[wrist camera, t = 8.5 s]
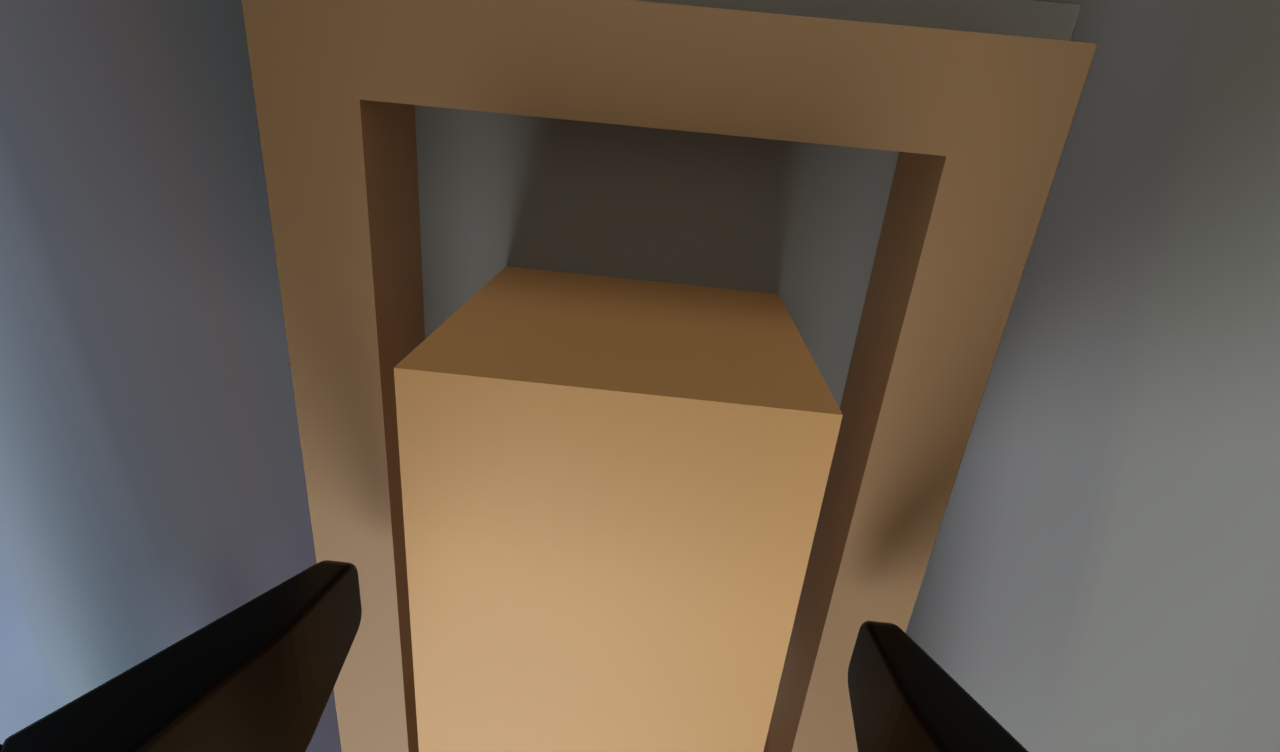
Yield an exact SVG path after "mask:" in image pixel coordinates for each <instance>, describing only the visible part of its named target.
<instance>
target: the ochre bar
mask: <svg viewBox="0 0 1280 752" xmlns="http://www.w3.org/2000/svg"><path fill="white" fill-rule="evenodd" d="M394 380H395V396H396V411H397V426H398V441H399V457H400V472H401V487H402V502H403V518H404V533H405V548H406V563H407V579H408V594H409V609H410V624H411V640H412V655H413V670H414V685H415V701H416V716H417V731H418V746H419V752H763V751H764V747H765V743H766V738H767V734H768V730H769V726H770V721H771V717H772V713H773V709H774V705H775V700H776V696H777V692H778V688H779V683H780V679H781V675H782V671H783V666H784V662H785V658H786V654H787V649H788V645H789V641H790V637H791V633H792V628H793V624H794V620H795V616H796V611H797V607H798V603H799V599H800V594H801V590H802V586H803V582H804V577H805V573H806V569H807V565H808V561H809V556H810V552H811V548H812V544H813V539H814V535H815V531H816V527H817V522H818V518H819V514H820V510H821V505H822V501H823V497H824V493H825V489H826V484H827V480H828V476H829V472H830V467H831V463H832V459H833V455H834V450H835V446H836V442H837V438H838V433H839V429H840V425H841V421H842V417H843V414H842V412H841V410H840V409H839V407H838V405H837V403H836V401H835V399H834V397H833V395H832V394H831V392H830V390H829V388H828V386H827V384H826V382H825V380H824V379H823V377H822V375H821V373H820V371H819V369H818V367H817V365H816V363H815V362H814V360H813V358H812V356H811V354H810V352H809V350H808V348H807V347H806V345H805V343H804V341H803V339H802V337H801V335H800V333H799V332H798V330H797V328H796V326H795V324H794V322H793V320H792V318H791V316H790V315H789V313H788V311H787V309H786V307H785V305H784V303H783V301H782V300H781V298H780V296H779V294H774V293H764V292H754V291H744V290H734V289H725V288H715V287H705V286H695V285H685V284H675V283H665V282H656V281H646V280H636V279H626V278H616V277H606V276H597V275H587V274H577V273H567V272H557V271H547V270H538V269H528V268H518V267H508V266H506V267H505V268H504V269H503V270H501V271H500V272H499V273H498V274H497V275H496V276H495V277H494V278H493V279H491V280H490V281H489V282H488V283H487V284H486V285H485V286H484V287H483V288H481V289H480V290H479V291H478V292H477V293H476V294H475V295H474V296H473V297H472V298H470V299H469V300H468V301H467V302H466V303H465V304H464V305H463V306H462V307H460V308H459V309H458V310H457V311H456V312H455V313H454V314H453V315H452V316H450V317H449V318H448V319H447V320H446V321H445V322H444V323H443V324H442V325H440V326H439V327H438V328H437V329H436V330H435V331H434V332H433V333H432V334H431V335H429V336H428V337H427V338H426V339H425V340H424V341H423V342H422V343H421V344H419V345H418V346H417V347H416V348H415V349H414V350H413V351H412V352H411V353H409V354H408V355H407V356H406V357H405V358H404V359H403V360H402V361H401V362H400V363H398V364H397V365H396V366H395V367H394Z"/></svg>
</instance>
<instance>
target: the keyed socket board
mask: <svg viewBox="0 0 1280 752" xmlns="http://www.w3.org/2000/svg"><path fill="white" fill-rule="evenodd" d="M1081 6H1082V5H1080V4H1069V3H1058V2H1047V1H1036V0H242V8H243V15H244V23H245V30H246V38H247V45H248V53H249V60H250V68H251V75H252V83H253V90H254V97H255V105H256V112H257V120H258V127H259V135H260V142H261V150H262V157H263V165H264V172H265V180H266V187H267V195H268V202H269V210H270V217H271V225H272V232H273V240H274V247H275V255H276V262H277V270H278V277H279V284H280V292H281V299H282V307H283V314H284V322H285V329H286V337H287V344H288V352H289V359H290V367H291V374H292V382H293V389H294V397H295V404H296V412H297V419H298V427H299V434H300V442H301V449H302V457H303V464H304V472H305V479H306V486H307V494H308V501H309V509H310V516H311V524H312V531H313V539H314V546H315V554H316V561H317V563H319V562H321V561H324V560H332V561H340V562H349V563H352V564H354V565H355V566H356V568H357V571H358V577H359V587H360V597H361V607H362V616H361V622H360V626H359V629H358V632H357V634H356V636H355V639H354V641H353V643H352V646H351V648H350V651H349V653H348V655H347V658H346V660H345V662H344V665H343V667H342V669H341V672H340V674H339V676H338V679H337V681H336V684H335V686H334V696H335V703H336V711H337V718H338V726H339V733H340V741H341V748H342V752H419V746H418V731H417V716H416V701H415V685H414V670H413V655H412V640H411V624H410V609H409V594H408V579H407V563H406V548H405V533H404V518H403V502H402V487H401V472H400V457H399V441H398V426H397V411H396V396H395V380H394V367H395V366H396V365H397V364H398V363H400V362H401V361H402V360H403V359H404V358H405V357H406V356H407V355H408V354H409V353H411V352H412V351H413V350H414V349H415V348H416V347H417V346H418V345H419V344H421V343H422V342H423V341H424V340H425V339H426V338H427V337H428V336H429V335H431V334H432V333H433V332H434V331H435V330H436V329H437V328H438V327H439V326H440V325H442V324H443V323H444V322H445V321H446V320H447V319H448V318H449V317H450V316H452V315H453V314H454V313H455V312H456V311H457V310H458V309H459V308H460V307H462V306H463V305H464V304H465V303H466V302H467V301H468V300H469V299H470V298H472V297H473V296H474V295H475V294H476V293H477V292H478V291H479V290H480V289H481V288H483V287H484V286H485V285H486V284H487V283H488V282H489V281H490V280H491V279H493V278H494V277H495V276H496V275H497V274H498V273H499V272H500V271H501V270H503V269H504V268H505V267H506V266H508V267H518V268H528V269H538V270H547V271H557V272H567V273H577V274H587V275H597V276H606V277H616V278H626V279H636V280H646V281H656V282H665V283H675V284H685V285H695V286H705V287H715V288H725V289H734V290H744V291H754V292H764V293H774V294H779V296H780V298H781V300H782V301H783V303H784V305H785V307H786V309H787V311H788V313H789V315H790V316H791V318H792V320H793V322H794V324H795V326H796V328H797V330H798V332H799V333H800V335H801V337H802V339H803V341H804V343H805V345H806V347H807V348H808V350H809V352H810V354H811V356H812V358H813V360H814V362H815V363H816V365H817V367H818V369H819V371H820V373H821V375H822V377H823V379H824V380H825V382H826V384H827V386H828V388H829V390H830V392H831V394H832V395H833V397H834V399H835V401H836V403H837V405H838V407H839V409H840V410H841V412H842V414H843V417H842V421H841V425H840V429H839V433H838V438H837V442H836V446H835V450H834V455H833V459H832V463H831V467H830V472H829V476H828V480H827V484H826V489H825V493H824V497H823V501H822V505H821V510H820V514H819V518H818V522H817V527H816V531H815V535H814V539H813V544H812V548H811V552H810V556H809V561H808V565H807V569H806V573H805V577H804V582H803V586H802V590H801V594H800V599H799V603H798V607H797V611H796V616H795V620H794V624H793V628H792V633H791V637H790V641H789V645H788V649H787V654H786V658H785V662H784V666H783V671H782V675H781V679H780V683H779V688H778V692H777V696H776V700H775V705H774V709H773V713H772V717H771V721H770V726H769V730H768V734H767V738H766V743H765V747H764V751H763V752H858V749H857V743H856V736H855V729H854V723H853V716H852V709H851V703H850V696H849V689H848V667H849V663H850V660H851V656H852V653H853V649H854V646H855V642H856V639H857V635H858V632H859V629H860V627H861V625H862V623H864V622H865V621H877V622H886V623H892V624H895V625H897V626H898V627H900V628H901V629H902V630H903V631H904V632H905V633H906V630H907V626H908V623H909V620H910V617H911V614H912V611H913V608H914V605H915V602H916V599H917V596H918V593H919V590H920V587H921V584H922V580H923V577H924V574H925V571H926V568H927V565H928V562H929V559H930V556H931V553H932V550H933V547H934V544H935V541H936V537H937V534H938V531H939V528H940V525H941V522H942V519H943V516H944V513H945V510H946V507H947V504H948V501H949V498H950V495H951V491H952V488H953V485H954V482H955V479H956V476H957V473H958V470H959V467H960V464H961V461H962V458H963V455H964V452H965V448H966V445H967V442H968V439H969V436H970V433H971V430H972V427H973V424H974V421H975V418H976V415H977V412H978V409H979V405H980V402H981V399H982V396H983V393H984V390H985V387H986V384H987V381H988V378H989V375H990V372H991V369H992V366H993V363H994V359H995V356H996V353H997V350H998V347H999V344H1000V341H1001V338H1002V335H1003V332H1004V329H1005V326H1006V323H1007V320H1008V316H1009V313H1010V310H1011V307H1012V304H1013V301H1014V298H1015V295H1016V292H1017V289H1018V286H1019V283H1020V280H1021V277H1022V274H1023V270H1024V267H1025V264H1026V261H1027V258H1028V255H1029V252H1030V249H1031V246H1032V243H1033V240H1034V237H1035V234H1036V231H1037V227H1038V224H1039V221H1040V218H1041V215H1042V212H1043V209H1044V206H1045V203H1046V200H1047V197H1048V194H1049V191H1050V188H1051V184H1052V181H1053V178H1054V175H1055V172H1056V169H1057V166H1058V163H1059V160H1060V157H1061V154H1062V151H1063V148H1064V145H1065V142H1066V138H1067V135H1068V132H1069V129H1070V126H1071V123H1072V120H1073V117H1074V114H1075V111H1076V108H1077V105H1078V102H1079V99H1080V95H1081V92H1082V89H1083V86H1084V83H1085V80H1086V77H1087V74H1088V71H1089V68H1090V65H1091V62H1092V59H1093V56H1094V53H1095V49H1096V46H1097V43H1087V42H1076V41H1071V38H1072V35H1073V32H1074V29H1075V26H1076V22H1077V19H1078V16H1079V13H1080V9H1081Z"/></svg>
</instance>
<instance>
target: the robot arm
mask: <svg viewBox="0 0 1280 752" xmlns="http://www.w3.org/2000/svg"><path fill="white" fill-rule="evenodd" d="M361 616H362V607H361V597H360V587H359V577H358V571H357V568H356V566H355V565H354V564H352V563H349V562H340V561H332V560H324V561H321V562H319V563H317V564H315V565H313V566H311V567H310V568H308V569H306V570H304V571H303V572H301V573H299V574H297V575H295V576H294V577H292V578H290V579H288V580H287V581H285V582H283V583H281V584H280V585H278V586H276V587H274V588H272V589H271V590H269V591H267V592H265V593H264V594H262V595H260V596H258V597H256V598H255V599H253V600H251V601H249V602H248V603H246V604H244V605H242V606H240V607H239V608H237V609H235V610H233V611H232V612H230V613H228V614H226V615H224V616H223V617H221V618H219V619H217V620H216V621H214V622H212V623H210V624H209V625H207V626H205V627H203V628H201V629H200V630H198V631H196V632H194V633H193V634H191V635H189V636H187V637H185V638H184V639H182V640H180V641H178V642H177V643H175V644H173V645H171V646H169V647H168V648H166V649H164V650H162V651H161V652H159V653H157V654H155V655H154V656H152V657H150V658H148V659H146V660H145V661H143V662H141V663H139V664H138V665H136V666H134V667H132V668H130V669H129V670H127V671H125V672H123V673H122V674H120V675H118V676H116V677H114V678H113V679H111V680H109V681H107V682H106V683H104V684H102V685H100V686H98V687H97V688H95V689H93V690H91V691H90V692H88V693H86V694H84V695H83V696H81V697H79V698H77V699H75V700H74V701H72V702H70V703H68V704H67V705H65V706H63V707H61V708H59V709H58V710H56V711H54V712H52V713H51V714H49V715H47V716H45V717H43V718H42V719H40V720H38V721H36V722H35V723H33V724H31V725H29V726H27V727H26V728H24V729H22V730H20V731H19V732H17V733H15V734H13V735H11V736H10V737H8V738H7V739H6V740H5V741H4V743H3V745H2V744H0V752H305V751H306V749H307V747H308V745H309V743H310V741H311V739H312V737H313V735H314V732H315V730H316V728H317V726H318V724H319V721H320V719H321V717H322V714H323V712H324V709H325V707H326V705H327V702H328V700H329V698H330V695H331V693H332V691H333V688H334V686H335V684H336V681H337V679H338V676H339V674H340V672H341V669H342V667H343V665H344V662H345V660H346V658H347V655H348V653H349V651H350V648H351V646H352V643H353V641H354V639H355V636H356V634H357V632H358V629H359V626H360V622H361ZM848 689H849V696H850V703H851V709H852V716H853V723H854V729H855V736H856V743H857V749H858V752H1028V751H1027V750H1026V749H1025V748H1024V747H1023V746H1022V745H1021V744H1020V743H1019V742H1018V741H1017V740H1016V739H1015V738H1014V737H1013V736H1012V735H1011V734H1010V733H1009V732H1008V731H1006V730H1005V729H1004V728H1003V727H1002V726H1001V725H1000V724H999V723H998V722H997V721H996V720H995V719H994V718H993V717H992V716H991V715H990V714H989V713H988V712H987V711H986V710H985V709H984V708H983V707H982V706H981V705H980V704H979V703H978V702H976V701H975V700H974V699H973V698H972V697H971V696H970V695H969V694H968V693H967V692H966V691H965V690H964V689H963V688H962V687H961V686H960V685H959V684H958V683H957V682H956V681H955V680H954V679H953V678H952V677H951V676H950V675H949V674H947V673H946V672H945V671H944V670H943V669H942V668H941V667H940V666H939V665H938V664H937V663H936V662H935V661H934V660H933V659H932V658H931V657H930V656H929V655H928V654H927V653H926V652H925V651H924V650H923V649H922V648H921V647H920V646H919V645H917V644H916V643H915V642H914V641H913V640H912V639H911V638H910V637H909V636H908V635H907V634H906V633H905V632H904V631H903V630H902V629H901V628H900V627H898V626H897V625H895V624H892V623H886V622H877V621H865V622H864V623H862V625H861V627H860V629H859V632H858V635H857V639H856V642H855V646H854V649H853V653H852V656H851V660H850V663H849V667H848Z"/></svg>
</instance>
